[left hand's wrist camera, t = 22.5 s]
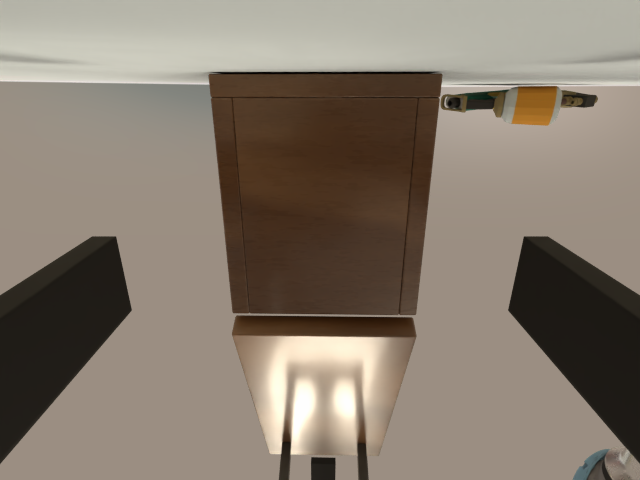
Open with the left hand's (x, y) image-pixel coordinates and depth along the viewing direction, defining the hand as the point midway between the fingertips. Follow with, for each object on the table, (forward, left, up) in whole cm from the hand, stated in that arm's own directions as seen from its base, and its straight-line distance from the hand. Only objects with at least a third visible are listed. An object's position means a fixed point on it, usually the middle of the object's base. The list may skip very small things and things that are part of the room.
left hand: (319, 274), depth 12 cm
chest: (+12, -7, -6) cm, 15 cm away
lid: (+8, -5, +14) cm, 17 cm away
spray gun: (+48, -1, -6) cm, 49 cm away
